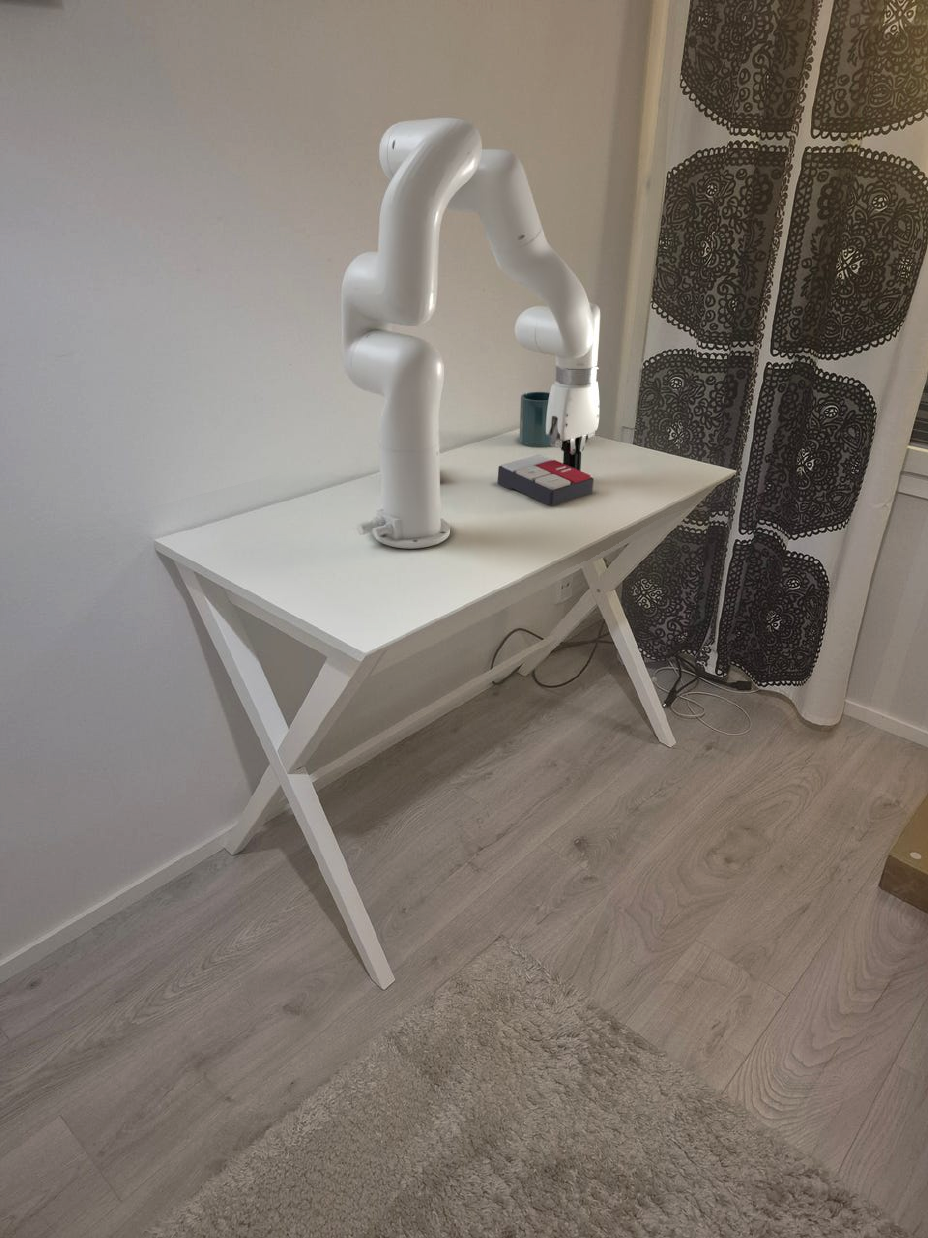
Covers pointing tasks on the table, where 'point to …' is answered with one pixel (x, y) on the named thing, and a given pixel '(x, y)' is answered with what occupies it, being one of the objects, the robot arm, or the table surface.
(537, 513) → the table surface
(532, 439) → the pen pot
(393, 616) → the table surface
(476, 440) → the table surface
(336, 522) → the table surface
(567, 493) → the button box
